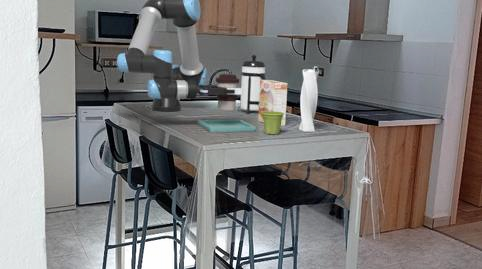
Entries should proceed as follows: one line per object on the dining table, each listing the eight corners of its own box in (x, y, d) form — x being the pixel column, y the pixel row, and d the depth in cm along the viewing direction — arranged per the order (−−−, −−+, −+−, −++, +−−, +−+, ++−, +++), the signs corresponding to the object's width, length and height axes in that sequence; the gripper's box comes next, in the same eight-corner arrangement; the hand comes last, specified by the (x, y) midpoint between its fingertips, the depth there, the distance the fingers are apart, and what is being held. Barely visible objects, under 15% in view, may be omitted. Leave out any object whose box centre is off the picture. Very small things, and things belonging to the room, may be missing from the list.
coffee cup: (220, 111, 207) (222, 75, 205) (211, 108, 216) (212, 73, 213) (242, 111, 212) (243, 75, 209) (231, 108, 220) (233, 73, 218)
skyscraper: (320, 132, 213) (325, 66, 208) (302, 133, 210) (307, 66, 205) (311, 129, 221) (316, 65, 215) (294, 129, 218) (299, 64, 213)
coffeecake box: (257, 120, 238) (259, 79, 234) (270, 120, 240) (273, 79, 237) (271, 126, 224) (274, 82, 220) (285, 125, 227) (288, 82, 223)
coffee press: (232, 112, 261) (234, 54, 255) (243, 109, 275) (246, 54, 270) (263, 115, 255) (266, 56, 249) (273, 112, 269) (276, 55, 264)
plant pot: (266, 136, 201) (267, 114, 199) (256, 131, 209) (257, 111, 207) (287, 135, 204) (288, 114, 203) (276, 131, 213) (277, 110, 211)
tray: (197, 124, 221) (197, 120, 221) (240, 123, 228) (240, 119, 228) (210, 132, 203) (210, 128, 203) (256, 131, 210) (256, 127, 209)
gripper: (179, 95, 217) (229, 96, 225) (192, 101, 197) (245, 102, 205) (180, 78, 216) (229, 79, 223) (192, 82, 196) (246, 83, 203)
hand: (237, 90), depth 214 cm, fingers closed on coffee cup, 9 cm apart
